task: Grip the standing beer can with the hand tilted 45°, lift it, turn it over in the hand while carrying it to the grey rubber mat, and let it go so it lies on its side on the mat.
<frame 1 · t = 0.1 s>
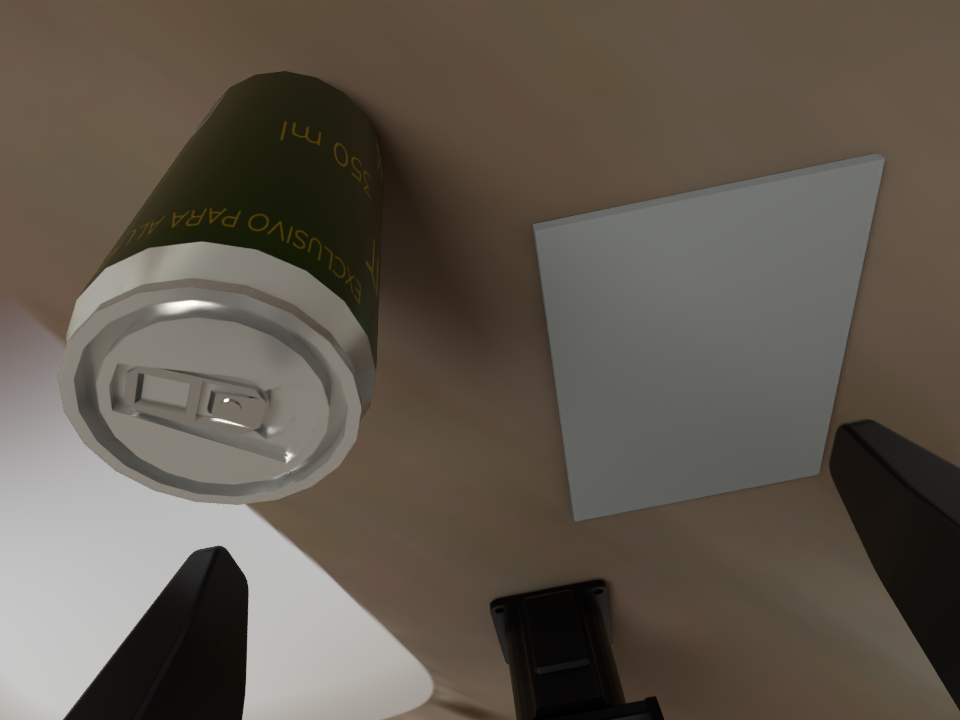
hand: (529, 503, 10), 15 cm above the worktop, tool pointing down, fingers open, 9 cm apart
beer can: (298, 153, 21), on the worktop
grey mat: (697, 366, 28), on the worktop
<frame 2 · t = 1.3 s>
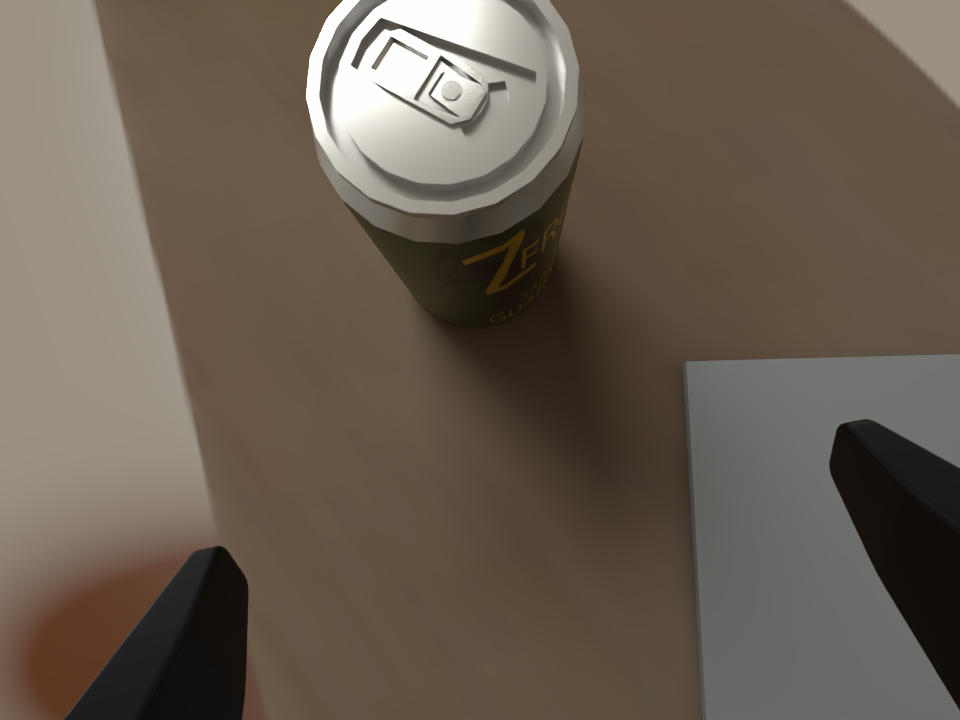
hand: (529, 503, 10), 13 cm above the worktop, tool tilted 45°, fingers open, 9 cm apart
beer can: (478, 258, 24), on the worktop
grey mat: (881, 600, 22), on the worktop
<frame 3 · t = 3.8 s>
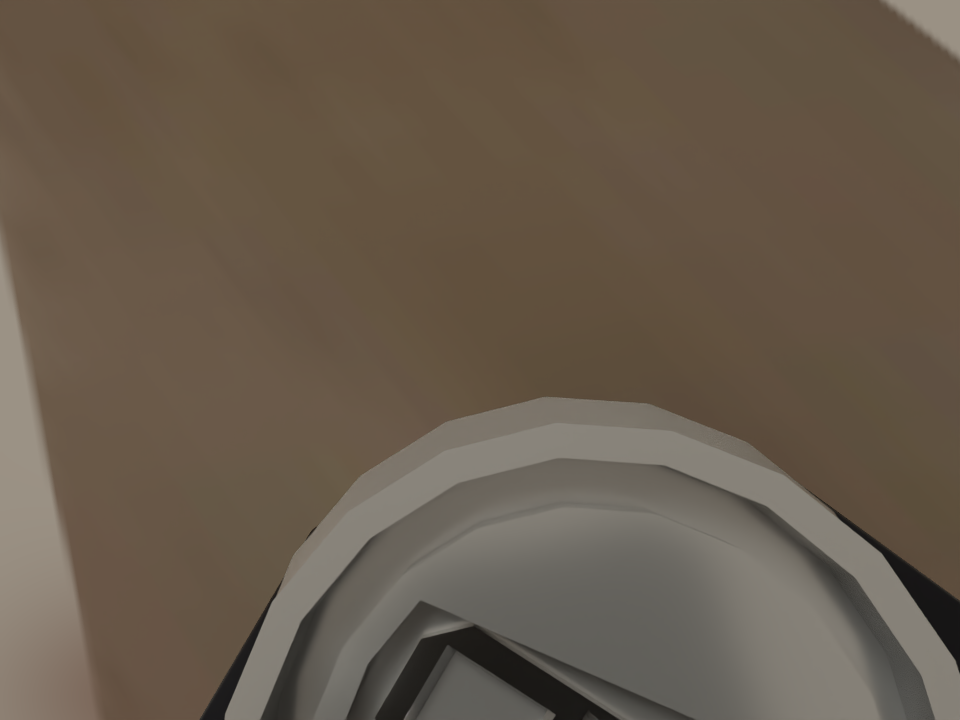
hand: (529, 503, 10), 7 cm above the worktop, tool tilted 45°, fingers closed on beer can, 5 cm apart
beer can: (535, 531, 16), on the worktop, touching gripper
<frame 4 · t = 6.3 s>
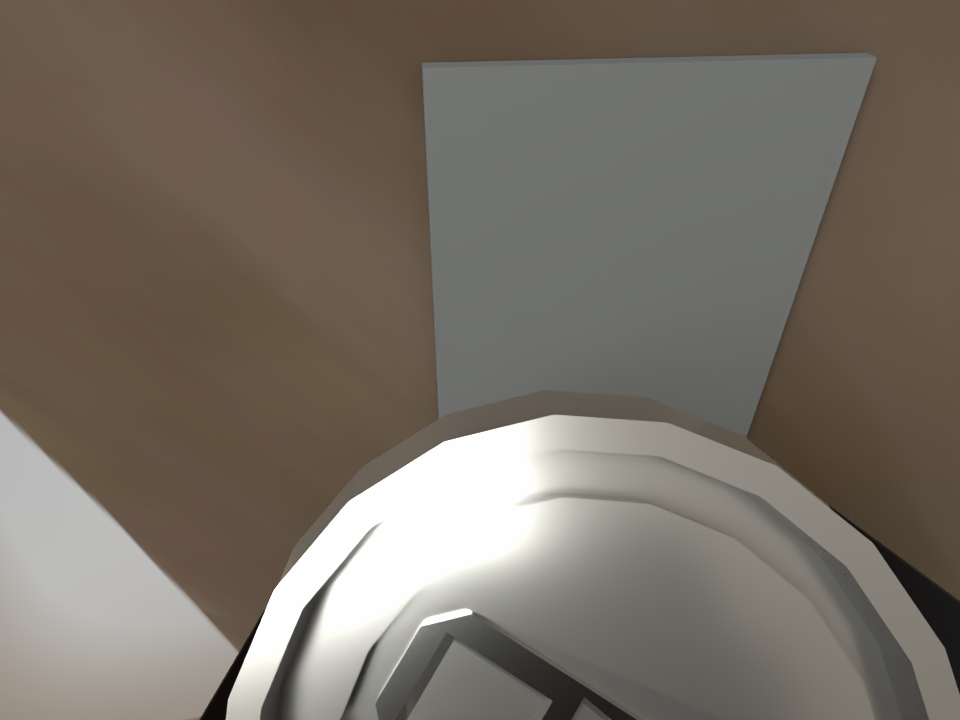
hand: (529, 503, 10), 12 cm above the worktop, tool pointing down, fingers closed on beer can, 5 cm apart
beer can: (533, 528, 16), point 8 cm above the worktop, touching gripper
grey mat: (612, 311, 22), on the worktop
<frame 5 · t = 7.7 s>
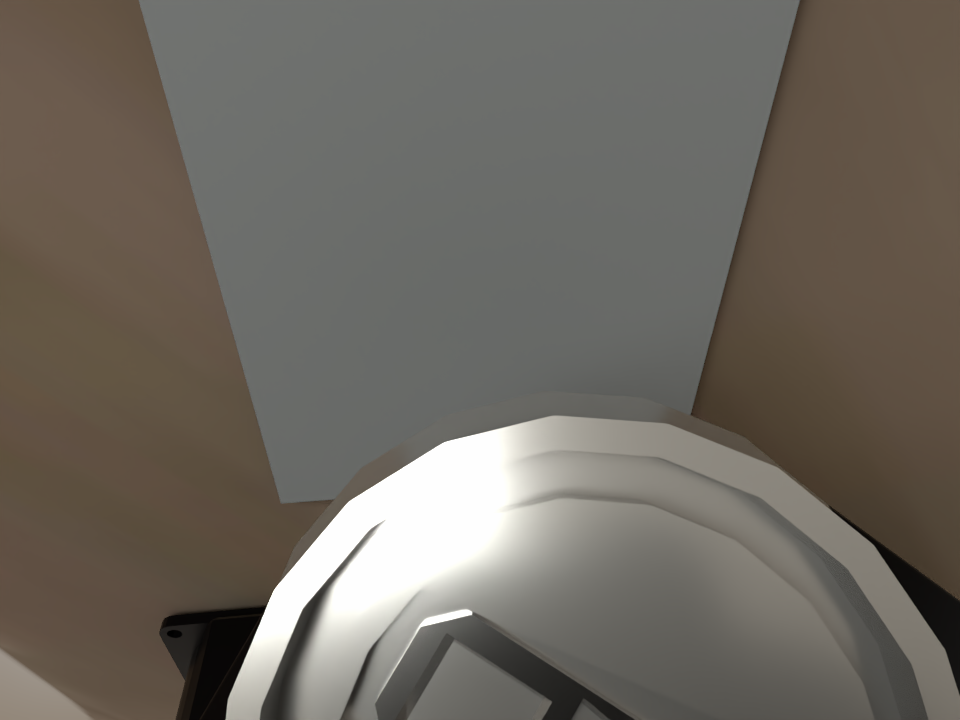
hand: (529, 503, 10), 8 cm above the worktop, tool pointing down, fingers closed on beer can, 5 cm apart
beer can: (534, 527, 16), point 4 cm above the worktop, touching gripper
grey mat: (480, 244, 16), on the worktop
when the fingers open (7 cm above the worktop, at t = 8.1 s): beer can moves 3 cm, resting on grey mat.
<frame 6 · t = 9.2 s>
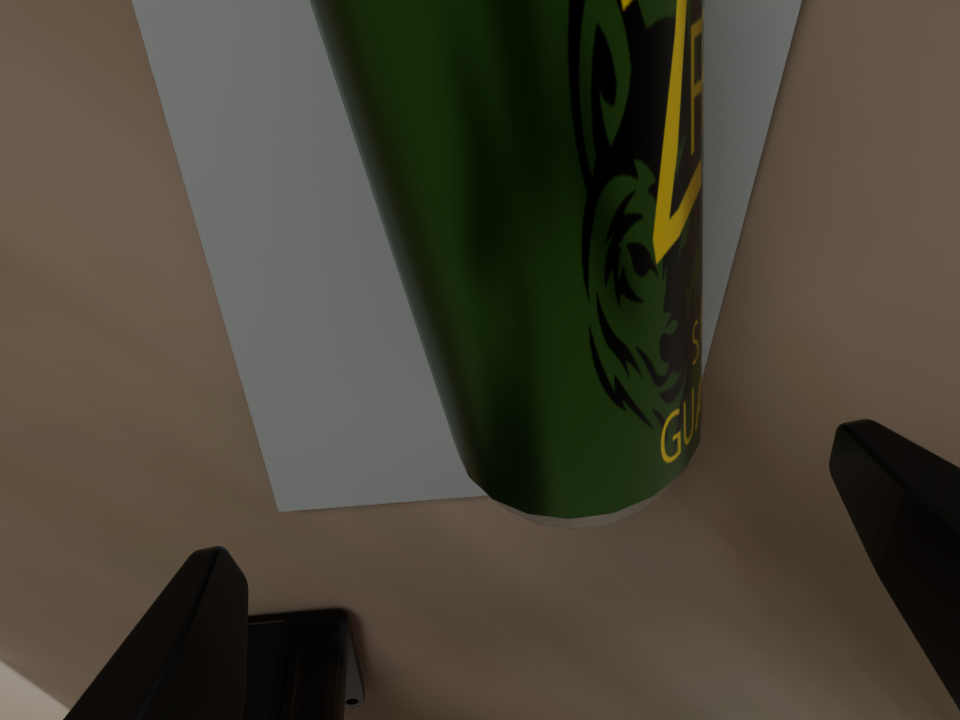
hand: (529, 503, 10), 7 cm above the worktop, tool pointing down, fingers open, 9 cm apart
beer can: (579, 448, 15), point 3 cm above the worktop, touching grey mat
grey mat: (479, 252, 16), on the worktop
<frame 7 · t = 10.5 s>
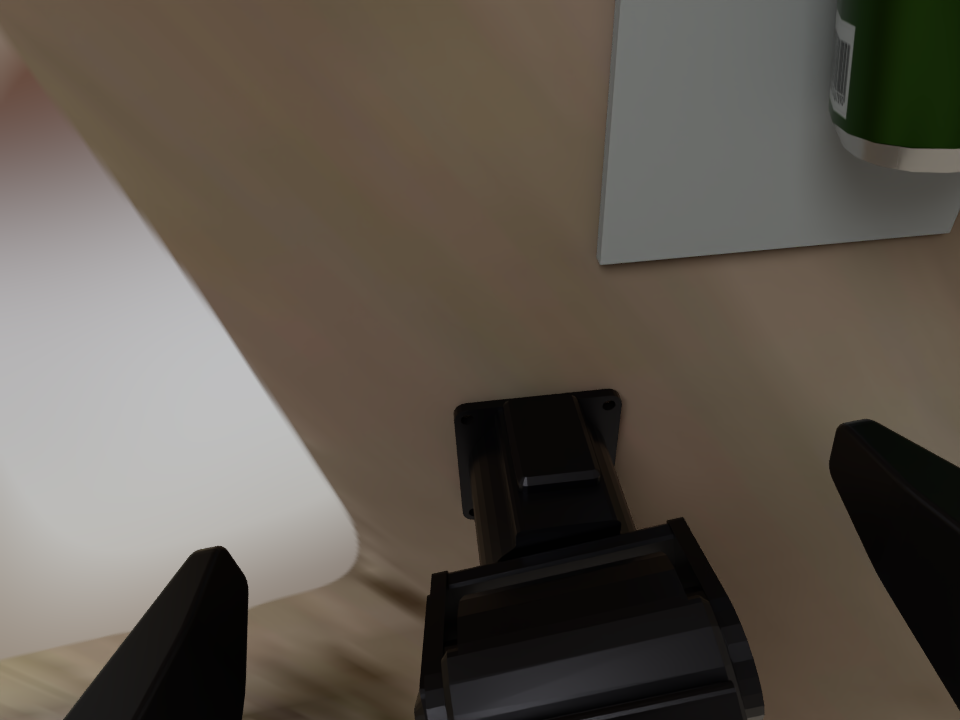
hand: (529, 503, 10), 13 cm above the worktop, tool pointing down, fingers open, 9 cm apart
beer can: (941, 136, 17), point 3 cm above the worktop, touching grey mat
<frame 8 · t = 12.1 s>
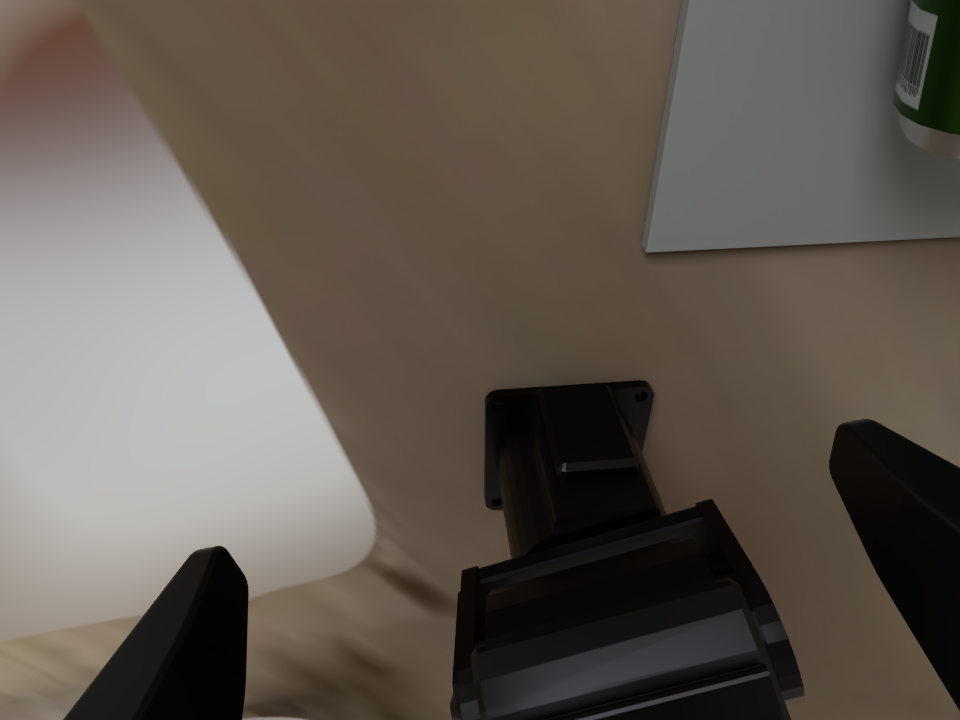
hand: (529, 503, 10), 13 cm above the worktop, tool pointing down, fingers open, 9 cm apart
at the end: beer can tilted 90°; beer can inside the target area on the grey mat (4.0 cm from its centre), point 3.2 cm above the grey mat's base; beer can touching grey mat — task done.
